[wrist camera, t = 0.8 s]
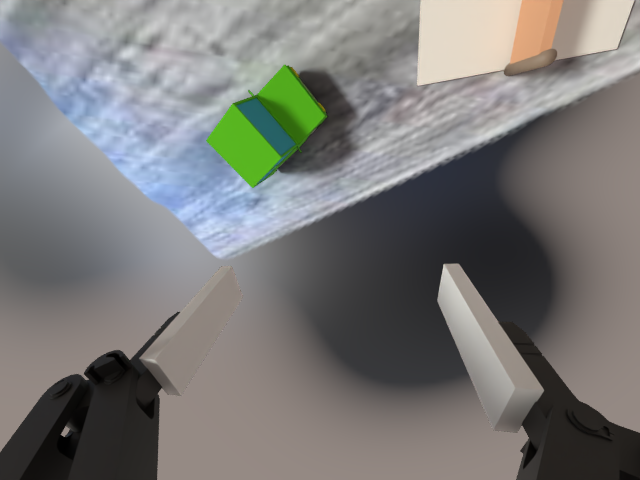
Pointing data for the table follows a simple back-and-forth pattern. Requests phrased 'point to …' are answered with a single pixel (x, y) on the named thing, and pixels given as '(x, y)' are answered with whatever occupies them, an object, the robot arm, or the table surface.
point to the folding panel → (534, 36)
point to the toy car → (267, 127)
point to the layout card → (506, 34)
